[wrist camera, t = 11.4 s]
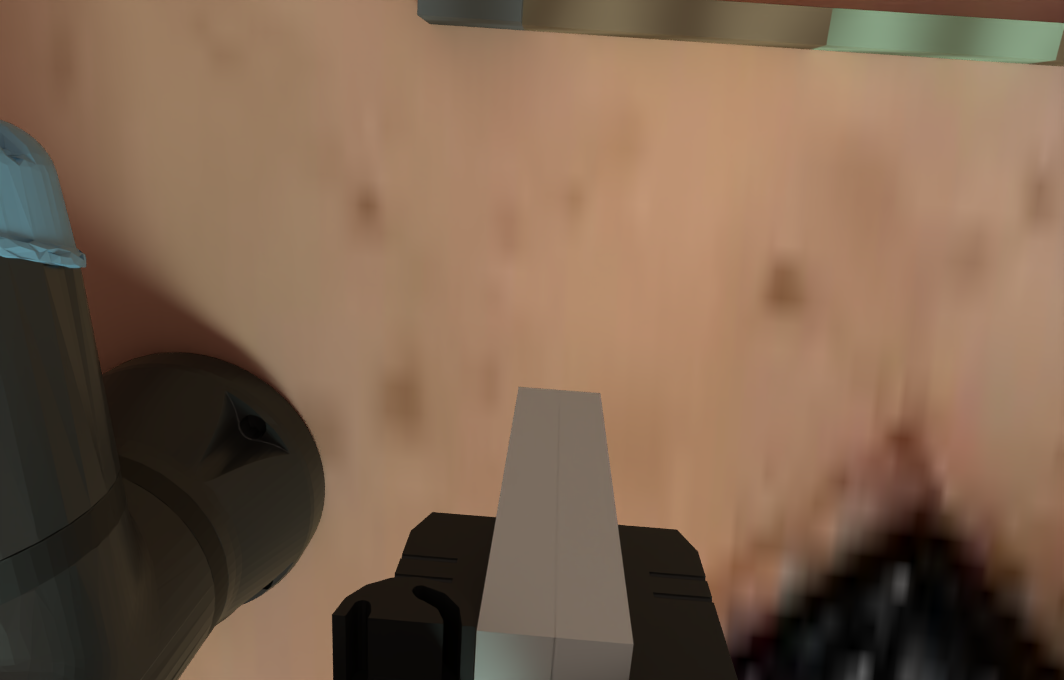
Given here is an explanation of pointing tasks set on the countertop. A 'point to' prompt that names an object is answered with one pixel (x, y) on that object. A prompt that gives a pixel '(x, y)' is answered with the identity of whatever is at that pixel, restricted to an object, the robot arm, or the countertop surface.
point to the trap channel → (768, 26)
